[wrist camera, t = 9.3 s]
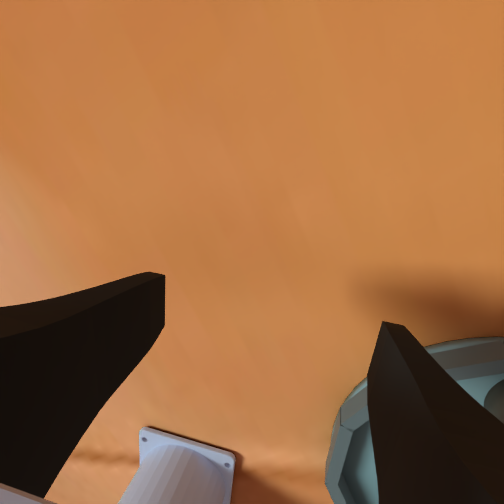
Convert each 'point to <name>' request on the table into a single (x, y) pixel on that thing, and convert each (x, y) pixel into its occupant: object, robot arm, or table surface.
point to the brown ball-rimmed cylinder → (496, 401)
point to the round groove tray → (358, 426)
